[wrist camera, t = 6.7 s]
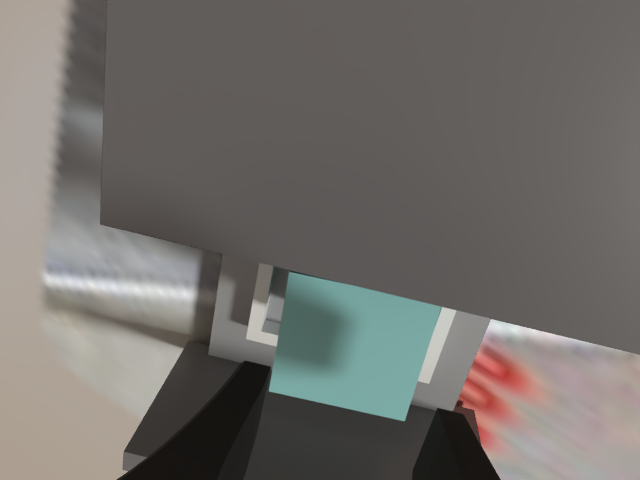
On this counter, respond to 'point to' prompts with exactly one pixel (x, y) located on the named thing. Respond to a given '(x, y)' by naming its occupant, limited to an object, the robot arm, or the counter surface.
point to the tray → (300, 414)
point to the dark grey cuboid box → (391, 147)
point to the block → (351, 346)
